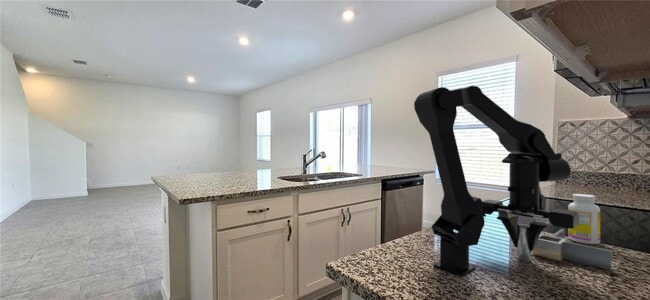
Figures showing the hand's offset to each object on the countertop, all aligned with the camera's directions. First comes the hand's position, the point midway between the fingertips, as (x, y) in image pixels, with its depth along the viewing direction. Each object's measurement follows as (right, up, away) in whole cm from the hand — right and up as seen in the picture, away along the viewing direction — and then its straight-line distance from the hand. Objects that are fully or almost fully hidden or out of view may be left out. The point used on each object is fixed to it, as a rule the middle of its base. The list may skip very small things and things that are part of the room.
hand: (523, 248), depth 66 cm
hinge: (+15, -2, +3) cm, 15 cm away
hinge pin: (0, -3, 0) cm, 2 cm away
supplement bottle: (+26, -2, +13) cm, 29 cm away
